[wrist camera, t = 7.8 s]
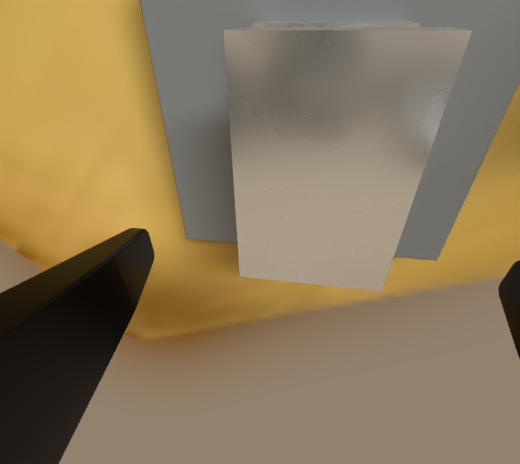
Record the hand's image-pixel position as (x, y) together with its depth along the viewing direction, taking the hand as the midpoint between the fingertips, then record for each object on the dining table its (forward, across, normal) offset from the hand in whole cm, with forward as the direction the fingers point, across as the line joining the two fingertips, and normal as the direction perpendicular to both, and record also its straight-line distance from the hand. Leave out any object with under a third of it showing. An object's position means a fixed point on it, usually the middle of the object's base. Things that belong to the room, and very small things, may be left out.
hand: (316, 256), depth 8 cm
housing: (+9, 0, 0) cm, 9 cm away
